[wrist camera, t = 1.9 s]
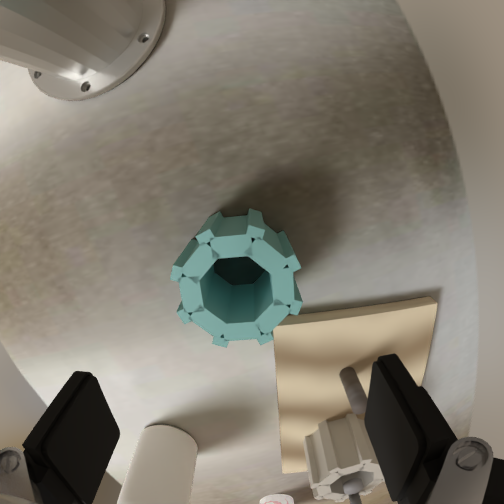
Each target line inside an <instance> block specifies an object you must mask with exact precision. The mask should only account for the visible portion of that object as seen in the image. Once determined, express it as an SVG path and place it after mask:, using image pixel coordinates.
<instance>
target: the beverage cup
mask: <svg viewBox="0 0 504 504" xmlns="http://www.w3.org/2000/svg"><path fill="white" fill-rule="evenodd" d="M260 504H294V501H293V498H292V497H291V496H289V495H286V494H273V495H269V496H265V497H264V498H262V499H261V500H260Z"/></svg>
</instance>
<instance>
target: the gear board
mask: <svg viewBox="0 0 504 504" xmlns="http://www.w3.org/2000/svg"><path fill="white" fill-rule="evenodd" d="M437 304H438V303H437V302H436V301H434V300H433V299H432V298H431V297H430V296H428V297H423V298H417V299H411V300H405V301H398V302H392V303H385V304H378V305H372V306H364V307H357V308H350V309H342V310H334V311H326V312H317V313H308V314H299V315H290V316H286V317H285V318H284V319H283V320H282V321H281V322H280V323H279V324H278V325H277V326H276V327H275V328H274V329H273V336H274V352H275V366H276V380H277V394H278V409H279V425H280V441H281V457H282V471H283V474H286V473H295V472H304V471H308V469H307V463H306V457H305V451H304V445H303V441H304V438H305V436H311V435H312V434H313V433H314V432H315V431H316V430H317V429H318V424H319V423H320V422H322V421H324V420H327V421H328V422H331V421H334V420H338V419H341V418H345V417H346V415H347V414H353V413H354V414H356V416H357V418H358V419H361V420H364V418H365V412H366V406H367V399H368V393H369V386H370V379H371V371H372V364H373V362H374V361H377V359H378V357H379V356H383V355H388V354H394V353H395V354H397V355H398V357H399V358H400V360H401V361H402V363H403V364H404V366H405V367H406V369H407V370H408V372H409V373H410V375H411V376H412V378H413V379H414V381H415V382H416V384H417V385H418V386H421V384H422V380H423V376H424V372H425V368H426V363H427V359H428V354H429V349H430V345H431V339H432V334H433V329H434V323H435V317H436V311H437ZM350 474H352V473H350ZM350 474H347V475H350Z"/></svg>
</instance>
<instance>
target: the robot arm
mask: <svg viewBox="0 0 504 504" xmlns="http://www.w3.org/2000/svg"><path fill="white" fill-rule="evenodd" d="M165 14H166V5H165V0H0V60H2V61H5V62H8V63H12V64H15V65H18V66H22V67H25V68H28V71H29V75H30V77H31V79H32V81H33V83H34V84H35V85H36V87H37V88H38V89H39V90H40V91H41V92H43V93H45V94H46V95H48V96H50V97H53V98H57V99H61V100H66V101H81V100H85V99H89V98H93V97H96V96H98V95H101V94H103V93H105V92H108V91H109V90H111V89H112V88H114V87H116V86H117V85H119V84H121V83H122V82H123V81H124V80H126V79H127V78H128V77H129V76H130V75H132V74H133V73H134V72H135V71H136V70H137V69H138V68H139V66H140V65H141V64H142V63H143V62H144V61H145V60H146V58H147V57H148V56H149V54H150V53H151V51H152V50H153V48H154V47H155V45H156V43H157V41H158V39H159V37H160V35H161V32H162V29H163V25H164V22H165ZM147 39H148V40H147ZM145 40H147V42H145V43H144V41H145ZM89 87H90V89H89ZM364 423H365V428H366V431H367V433H368V436H369V439H370V441H371V444H372V447H373V449H374V452H375V455H376V458H377V460H378V463H379V466H380V469H381V471H382V474H383V477H384V480H385V483H386V485H387V488H388V491H389V494H390V497H391V499H392V501H393V502H395V501H397V502H398V504H504V460H502V459H498V458H493V451H492V448H491V447H490V445H489V444H488V443H487V442H485V441H484V440H482V439H480V438H476V437H465V438H461V439H459V440H458V439H457V438H456V436H455V434H454V433H453V431H452V430H451V428H450V426H449V425H448V423H447V422H446V420H445V419H444V417H443V416H442V414H441V412H440V411H439V409H438V408H437V406H436V405H435V403H434V402H433V400H432V399H431V397H430V396H429V394H428V393H427V391H426V390H425V389H424V388H423V387H422V386H418V385H417V384H416V382H415V381H414V379H413V378H412V376H411V375H410V373H409V372H408V370H407V369H406V367H405V366H404V364H403V363H402V361H401V360H400V358H399V357H398V355H397V354H395V353H394V354H388V355H383V356H379V357H378V359H377V361H374V362H373V364H372V371H371V379H370V386H369V393H368V399H367V406H366V412H365V418H364ZM119 437H120V430H119V427H118V425H117V423H116V421H115V419H114V417H113V415H112V413H111V410H110V408H109V406H108V404H107V402H106V399H105V397H104V395H103V392H102V390H101V388H100V385H99V383H98V380H97V378H96V377H94V376H93V375H92V374H91V373H90V372H82V371H75V372H74V373H73V374H72V376H71V377H70V378H69V380H68V381H67V382H66V384H65V385H64V386H63V388H62V389H61V390H60V392H59V393H58V394H57V396H56V397H55V399H54V400H53V401H52V403H51V404H50V405H49V407H48V408H47V410H46V411H45V413H44V414H43V415H42V417H41V418H40V420H39V421H38V423H37V424H36V425H35V427H34V428H33V430H32V431H31V433H30V434H29V435H28V437H27V439H26V440H25V441H24V443H23V444H22V446H23V447H24V448H25V450H24V452H22V451H21V450H20V449H18V448H16V447H7V448H4V449H2V450H0V504H92V503H93V500H94V498H95V495H96V492H97V490H98V488H99V485H100V483H101V480H102V478H103V475H104V473H105V471H106V468H107V466H108V463H109V461H110V459H111V456H112V454H113V451H114V449H115V447H116V444H117V442H118V440H119Z"/></svg>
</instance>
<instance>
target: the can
mask: <svg viewBox="0 0 504 504" xmlns="http://www.w3.org/2000/svg"><path fill="white" fill-rule="evenodd" d="M197 451H198V447H197V444H196V442H195V440H194V439H193V438H192V437H191V436H190V435H189V434H188V433H186V432H185V431H183V430H181V429H179V428H177V427H174V426H170V425H164V424H159V425H153V426H149V427H147V428H145V429H144V430H143V431H142V432H141V434H140V436H139V439H138V442H137V445H136V447H135V450H134V453H133V456H132V459H131V462H130V465H129V468H128V471H127V474H126V477H125V480H124V483H123V486H122V489H121V492H120V496H119V498H118V502H117V504H190V498H191V491H192V485H193V478H194V471H195V465H196V458H197Z"/></svg>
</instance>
